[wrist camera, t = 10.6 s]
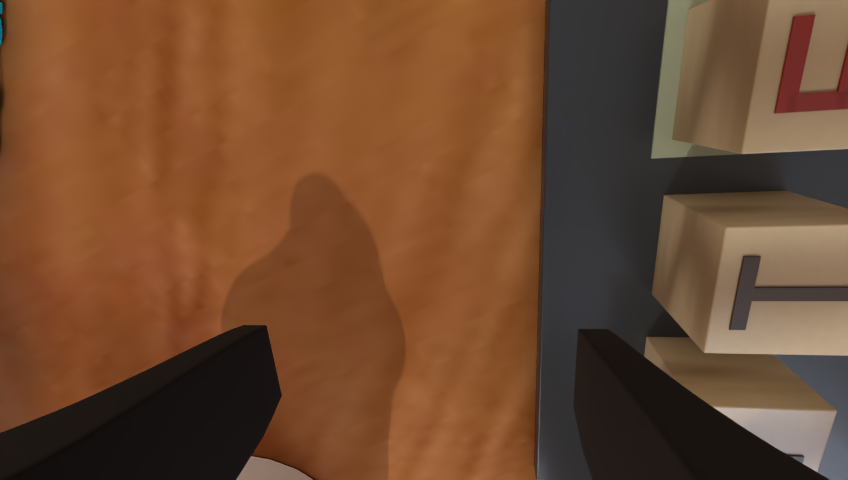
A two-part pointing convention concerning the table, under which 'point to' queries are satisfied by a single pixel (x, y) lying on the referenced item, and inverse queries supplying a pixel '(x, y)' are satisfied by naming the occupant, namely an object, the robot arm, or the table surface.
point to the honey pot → (269, 471)
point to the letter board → (626, 214)
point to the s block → (764, 76)
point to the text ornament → (0, 23)
